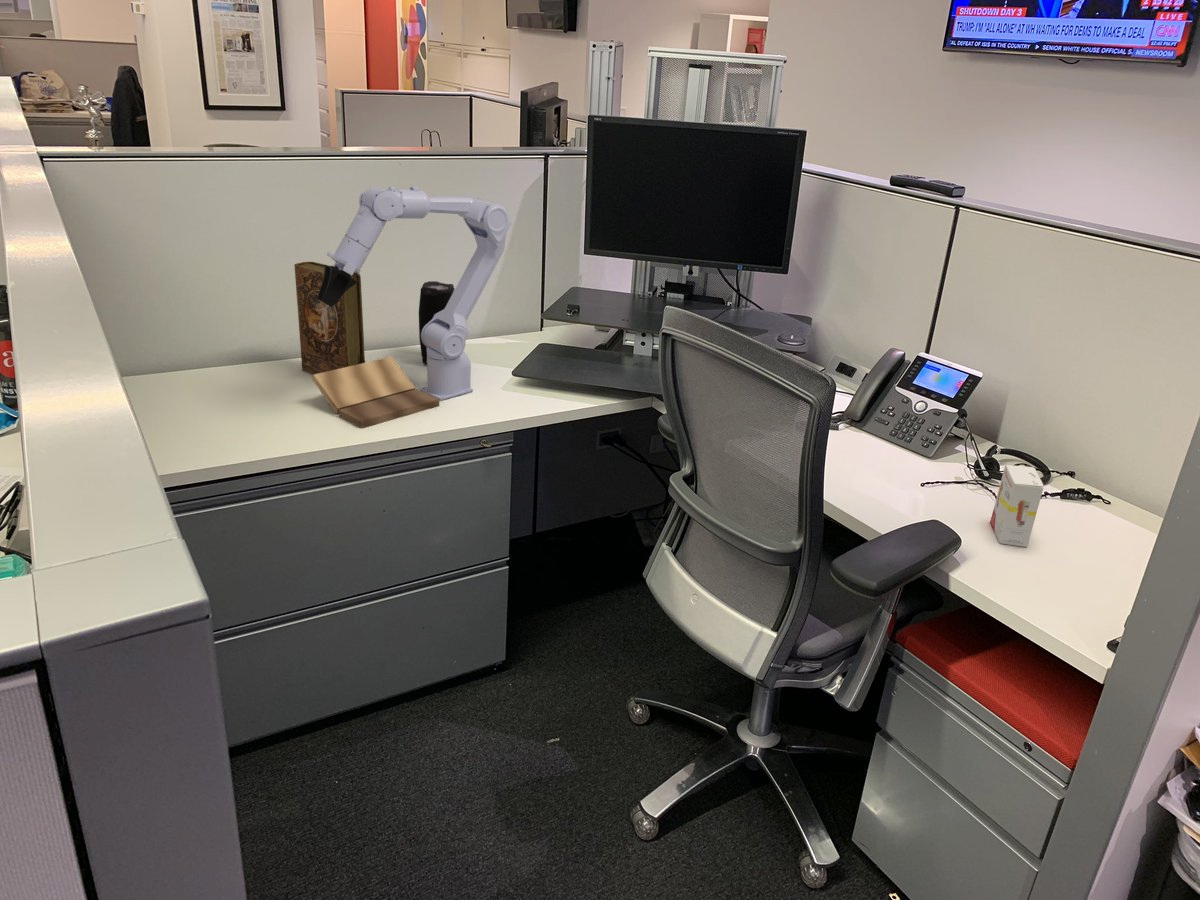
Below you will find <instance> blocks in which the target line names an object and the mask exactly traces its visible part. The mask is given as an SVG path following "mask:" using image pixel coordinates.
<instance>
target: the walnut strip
mask: <svg viewBox="0 0 1200 900" xmlns="http://www.w3.org/2000/svg"><path fill="white" fill-rule="evenodd" d="M436 407H440V400H439V399H438V398H436V397H434V396H431V395H429V394H427V393H425V392H422V391H420V390H419V389H417V388H415V390H411V391H407V392H403V393H400V394H396V395H392V396H389V397H385V398H381V399H377V400H374V401H370V402H366V403H362V404H359V405H355V406H351V407H347V408H344V409H340V410H339V413H338V416H339V418H341V419H343V420H344V421H347V422H349V423H350V424H352V425H354V426H356V427H358V428H360V429H364V428H367V427H368V428H369V427H371V426H375V425H379V424H381V423H385V422H389V421H391V420H395V419H400V418H403V417H406V416H410V415H413V414H415V413H420V412H423V411H426V410H430V409H434V408H436Z"/></svg>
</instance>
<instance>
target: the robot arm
mask: <svg viewBox="0 0 1200 900" xmlns="http://www.w3.org/2000/svg"><path fill="white" fill-rule="evenodd" d="M358 204H359V208H358V210H357V212H356V214H355V216H354V218H353V220H352V222H351V223H350V224H349V226H348V229H346V231H345V234H344V235H343V238H342V239H341V241H340V243H339V245H338V246H337V248H336V250H335V251H334V254H333V253H331V252H329V251H327V253H326V256H328V257H330V259H331V260H332V261H334V264H333V265H329V266H331V267H329V266H327V265H328V264H325V266H324V278H323V282H322V285H321V288H320V291H319V294H318V299H319V300H321V301H322V302H323V303H325V304H327V305H329V306H330V307H333V306H334V305H335V303H336V302H337V301H338V300H339V299H340V298H341V296H342V295H343V294H344V293H345V292H346V291H347V290H348V289H349V288H350V287H352V286H353V285H355V284H356V283H357V282H358V281H356V280H354V279H352V278H351V276H350V275H353V273H354V272H355V273H357V274H360V273H361V269H362V268H363V265H364V263H365V262H366V260H367V258H368V256H369V254H370V252H371V251H372V249H373V247H374V245H375V244H376V241H377V240H378V238H379V237H380V234H381V232H382V230H384V227H385V226H386V223H387V222H391V221H393V220H395V219H418V220H419V219H421V220H422V219H424V218H425V217H427V215H428V214H430V213H433V214H434V213H435V214H451V215H458V216H459V217H462V218H463V220H464V223H465V224H466V226H467V228H469V230H470V231H471V233H472V235H473V236H474V237H473V238H474V239H475V243H476V246H477V247H476V249H475V251H474V253H473V255H472V256H471V258H470V260H469V262H468V264H467V266H466V267H465V269H464V272H463V274H462V275H461V277H460V278H459V281H458V283H457V285H456V286H455V287H454V292H453V294H452V296H451V298H450V300H449V301H448V303H447V305H446V307H445V309H443V310H442V311H440V312H438V313H436V314H435V315H434V317H433V318H432V320H431V321H430V322H429V323H427V324H426V325H425V326H424V328H423V329H422V332H421V339H422V342H423V344H424V345H425V346H427V362H426V370H427V372H426V373H427V375H426V376H427V379H426V380H427V382H426V383H427V386H424V387H420V388H419V389H418V390H420V391H422V392H425V393H427V394H429V395H431V396H434V397H436V398H438V399H439V401H441V400H442V401H444V400H447V399H450V398H451V399H452V398H454V397H457V396H460V395H463V394H469V393H471V392H473V391H474V389H473V388H471V384H472V383H471V381H472V379H471V374H472V373H471V372H472V371H471V360H470V358H469V356H468V354H467V353H466V352H465V351H464V350H465V347H466V342H467V338H468V336H469V334H470V329H469V326H468V319H469V317H470V315H471V313H472V311H473V309H475V306H476V304H477V302H478V300H479V299H480V297H481V295H482V293H483V291H484V289H485V287H486V285H487V284H488V282H489V279H490V278H491V276H492V274H493V273H494V271H495V268H496V267H497V265H498V262H499V261H500V259H501V257H502V256H503V254H504V251H505V245H506V237H507V233H508V231H509V230H510V227H511V225H512V223H511V219H510V216H509V213H508V210H507V209H506V208H505V207H504V206H503V205H502V204H497V203H493V202H490V201H487V200H483V199H481V198H479V197H471V196H466V195H437V196H436V195H433V196H428V195H427V193H426V192H425V191H424V190H422V189H419V187H417V186H413V185H412V186H409V189H407V188H406V189H404V188H401V189H400V188H399V189H398V188H396V187H395V186H388V188H387V189H383V188H380V187H378V186H372V187H369V188H368V189H366V190H365V191H364V192H361V193H360V194H359V199H358ZM449 327H450V328H449Z"/></svg>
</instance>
